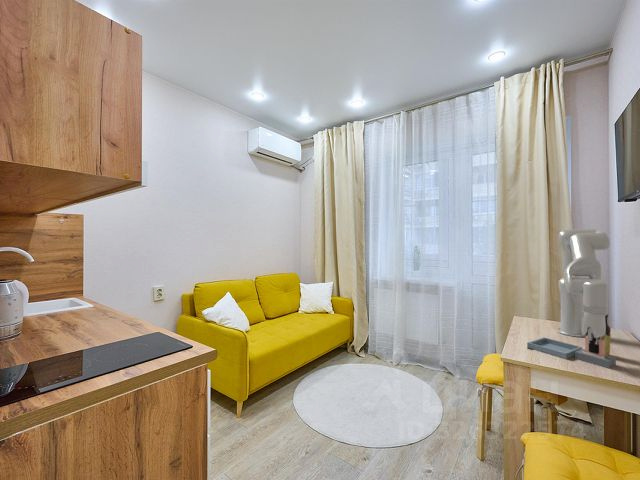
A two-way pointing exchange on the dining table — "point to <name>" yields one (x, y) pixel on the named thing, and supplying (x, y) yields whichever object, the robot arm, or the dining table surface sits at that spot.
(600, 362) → the dispenser
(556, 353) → the tray
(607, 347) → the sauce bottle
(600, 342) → the ticket
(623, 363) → the dining table surface
